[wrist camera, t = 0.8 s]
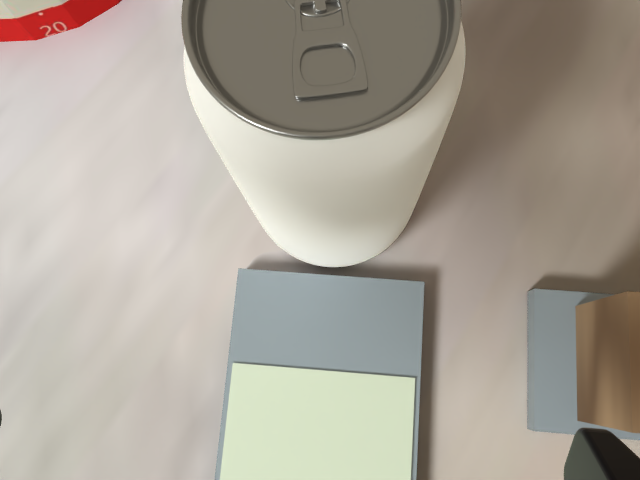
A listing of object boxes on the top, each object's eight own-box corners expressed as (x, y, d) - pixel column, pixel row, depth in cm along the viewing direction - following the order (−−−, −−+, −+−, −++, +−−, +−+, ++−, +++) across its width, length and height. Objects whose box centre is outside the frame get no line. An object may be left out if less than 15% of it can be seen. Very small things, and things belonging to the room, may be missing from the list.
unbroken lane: (404, 702, 19) (406, 718, 18) (197, 677, 20) (189, 691, 19) (421, 284, 22) (424, 281, 21) (242, 272, 23) (238, 268, 22)
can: (402, 107, 24) (455, -148, 12) (426, 259, 22) (512, 137, 11) (248, 126, 24) (152, -107, 12) (261, 279, 22) (167, 179, 11)
